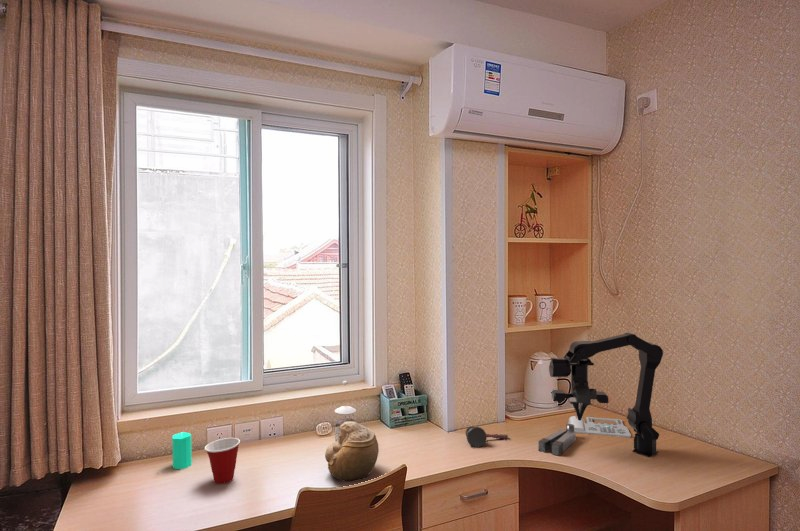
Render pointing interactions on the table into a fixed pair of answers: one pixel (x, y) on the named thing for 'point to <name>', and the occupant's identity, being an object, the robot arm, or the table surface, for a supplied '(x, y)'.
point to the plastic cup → (223, 458)
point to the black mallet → (480, 436)
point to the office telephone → (600, 427)
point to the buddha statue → (352, 452)
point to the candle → (182, 450)
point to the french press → (343, 411)
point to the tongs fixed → (553, 438)
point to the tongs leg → (563, 442)
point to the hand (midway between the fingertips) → (579, 420)
